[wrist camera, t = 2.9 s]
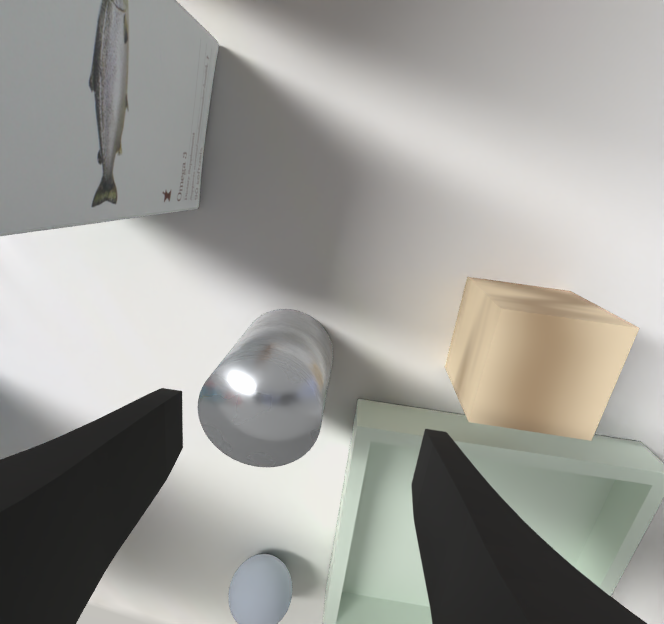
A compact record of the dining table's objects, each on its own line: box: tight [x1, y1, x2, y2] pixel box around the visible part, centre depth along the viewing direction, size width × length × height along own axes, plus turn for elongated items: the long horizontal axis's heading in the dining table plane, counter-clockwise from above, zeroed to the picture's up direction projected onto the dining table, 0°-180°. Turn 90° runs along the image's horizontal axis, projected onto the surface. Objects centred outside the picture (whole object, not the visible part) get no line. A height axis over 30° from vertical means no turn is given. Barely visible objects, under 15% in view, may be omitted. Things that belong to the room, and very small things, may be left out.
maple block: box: [445, 277, 639, 441], centre depth 17 cm, size 5×5×5 cm
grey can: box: [198, 309, 333, 467], centre depth 18 cm, size 5×5×6 cm
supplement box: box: [0, 0, 219, 236], centre depth 11 cm, size 7×7×13 cm
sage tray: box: [322, 399, 664, 624], centre depth 22 cm, size 16×16×2 cm
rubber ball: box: [229, 554, 292, 624], centre depth 24 cm, size 4×4×4 cm
